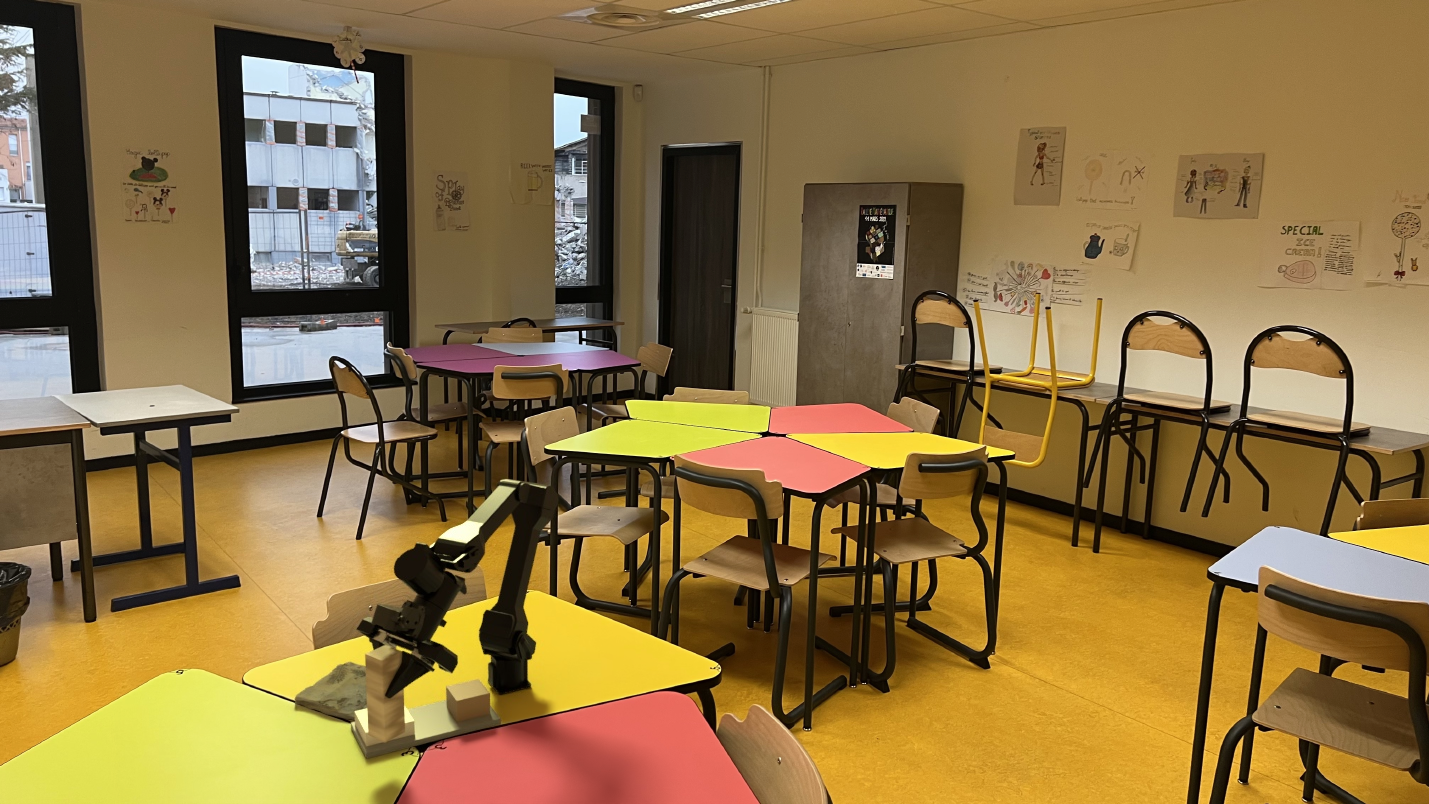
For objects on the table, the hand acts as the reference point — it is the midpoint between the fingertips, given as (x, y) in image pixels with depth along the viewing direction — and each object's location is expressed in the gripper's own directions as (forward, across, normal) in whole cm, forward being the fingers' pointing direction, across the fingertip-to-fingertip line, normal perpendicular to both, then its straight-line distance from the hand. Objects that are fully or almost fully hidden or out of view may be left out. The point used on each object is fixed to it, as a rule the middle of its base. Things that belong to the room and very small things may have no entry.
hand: (378, 693), depth 158 cm
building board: (0, -5, +19) cm, 20 cm away
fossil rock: (+1, -25, +19) cm, 32 cm away
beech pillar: (+4, 0, +6) cm, 8 cm away
